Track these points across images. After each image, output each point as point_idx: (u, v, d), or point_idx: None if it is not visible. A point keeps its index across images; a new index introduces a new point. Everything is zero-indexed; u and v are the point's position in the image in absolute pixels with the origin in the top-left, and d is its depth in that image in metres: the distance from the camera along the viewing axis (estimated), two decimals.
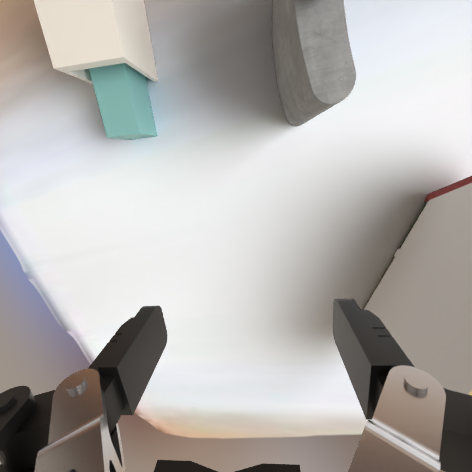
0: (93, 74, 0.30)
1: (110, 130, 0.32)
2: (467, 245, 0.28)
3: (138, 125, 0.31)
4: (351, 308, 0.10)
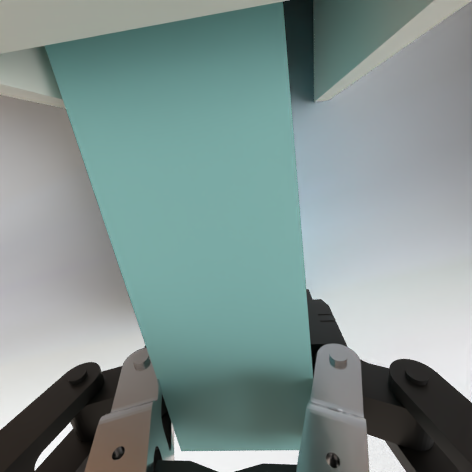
0: (130, 255, 0.06)
1: (194, 433, 0.08)
2: None
3: None
4: None
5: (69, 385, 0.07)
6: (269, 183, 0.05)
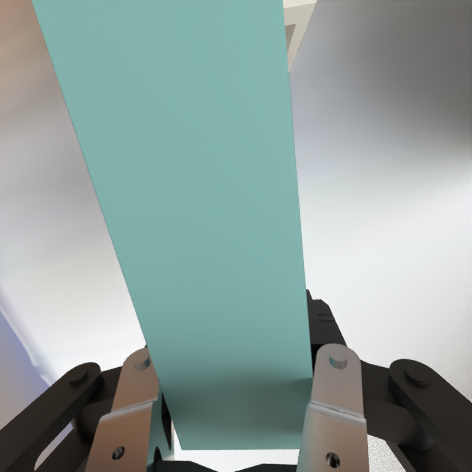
0: (131, 256, 0.06)
1: (195, 432, 0.08)
2: None
3: None
4: None
5: (69, 385, 0.07)
6: (270, 185, 0.05)
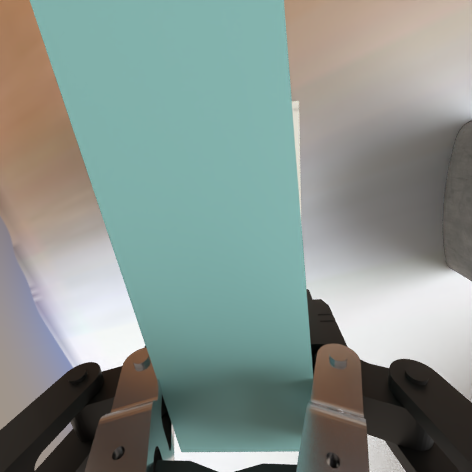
0: (131, 257, 0.06)
1: (194, 434, 0.08)
2: None
3: None
4: None
5: (69, 385, 0.07)
6: (270, 186, 0.05)
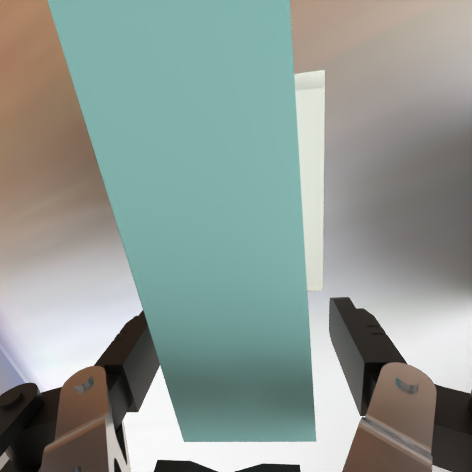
0: (140, 254, 0.06)
1: (197, 424, 0.08)
2: None
3: (314, 421, 0.08)
4: (346, 306, 0.10)
5: (1, 410, 0.07)
6: (274, 188, 0.05)
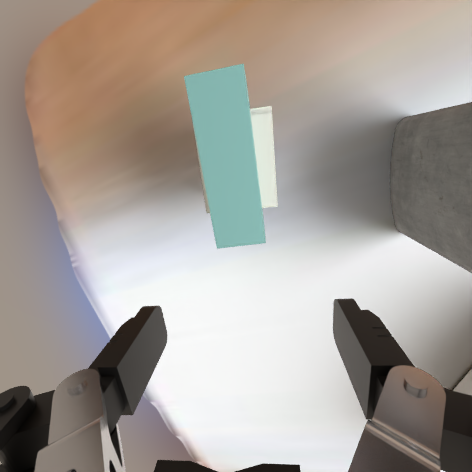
0: (206, 169, 0.20)
1: (222, 239, 0.22)
2: None
3: (264, 233, 0.22)
4: (351, 308, 0.10)
5: None
6: (246, 146, 0.20)
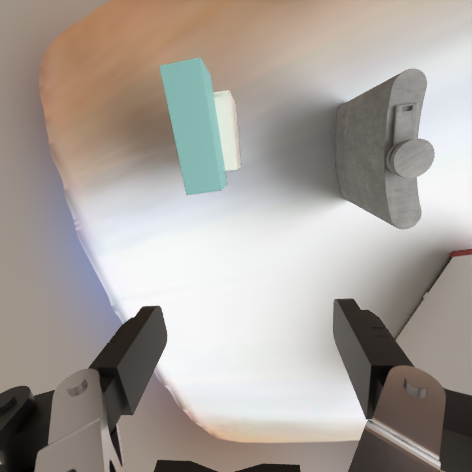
0: (176, 133, 0.28)
1: (190, 187, 0.30)
2: None
3: (220, 183, 0.30)
4: (351, 308, 0.10)
5: None
6: (204, 117, 0.28)
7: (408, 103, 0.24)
